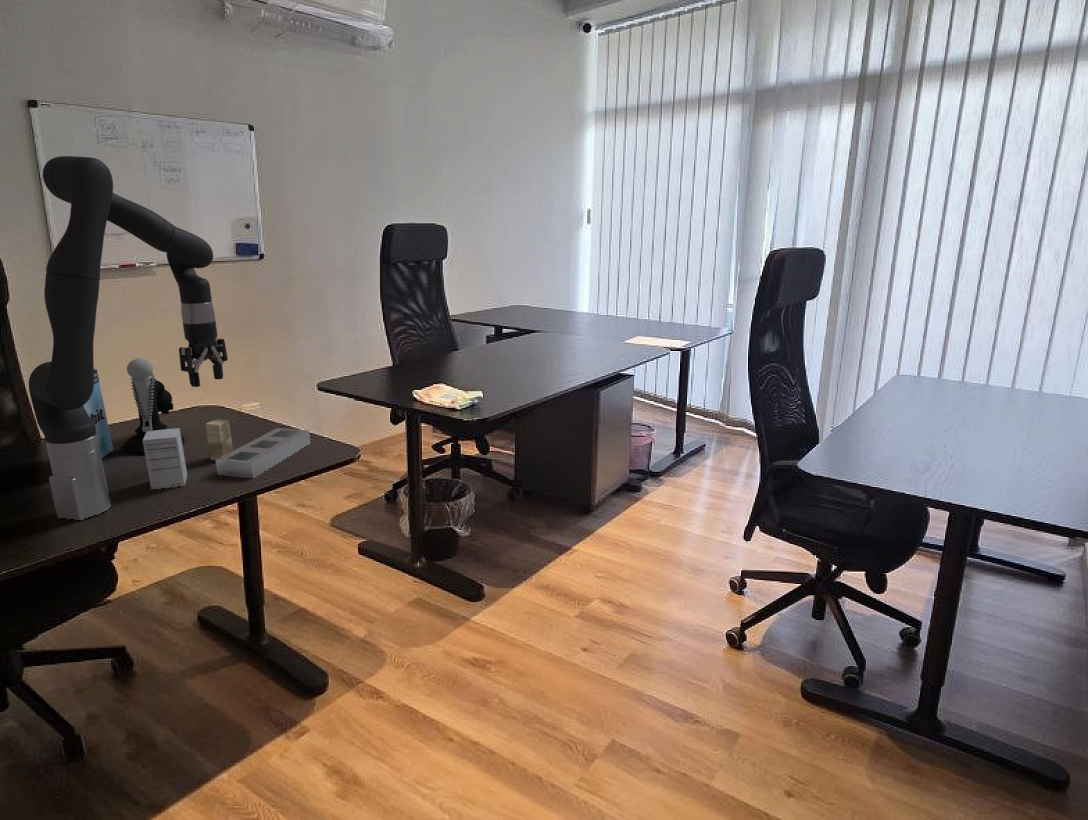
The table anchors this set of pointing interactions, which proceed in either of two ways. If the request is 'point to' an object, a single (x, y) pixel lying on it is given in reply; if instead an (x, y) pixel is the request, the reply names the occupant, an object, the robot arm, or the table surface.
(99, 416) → the gum box
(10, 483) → the table surface
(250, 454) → the grey slotted tray
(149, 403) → the sculpture
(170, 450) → the supplement box
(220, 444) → the maple block
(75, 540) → the table surface
